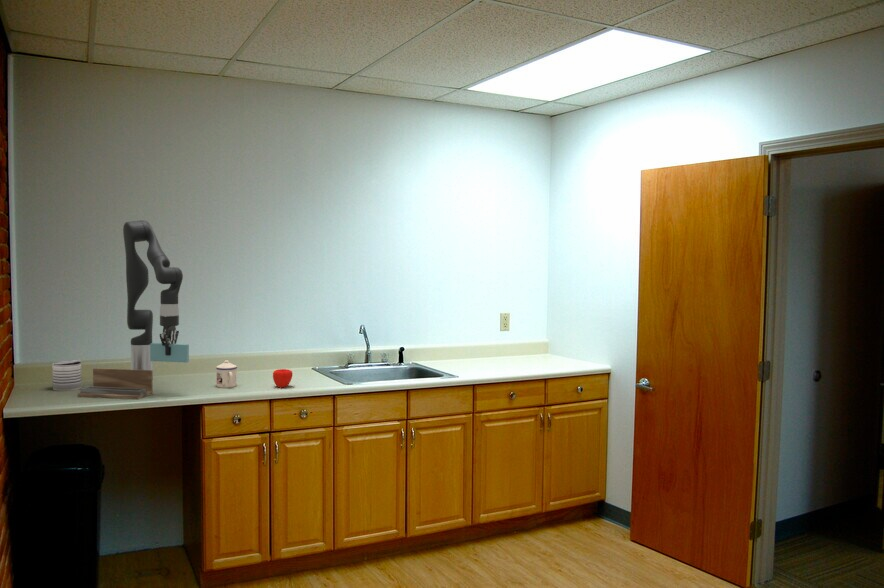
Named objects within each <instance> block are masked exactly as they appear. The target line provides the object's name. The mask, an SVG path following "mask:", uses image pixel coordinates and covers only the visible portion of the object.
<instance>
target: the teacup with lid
mask: <svg viewBox="0 0 884 588" xmlns="http://www.w3.org/2000/svg"><path fill="white" fill-rule="evenodd" d="M215 369H216V387H217V388H222V389H223V388H224V389H226V388H227V389H228V388H230V389H231V388H235V387H237V372H238V371H237V370H238V366H237V365H236V364H233V363H231V362H230V361H229V360H224V361H223V362H222V363H221V364H219V365H217V366H216V367H215Z"/></svg>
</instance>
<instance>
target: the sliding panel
mask: <svg viewBox="0 0 884 588" xmlns="http://www.w3.org/2000/svg"><path fill="white" fill-rule="evenodd" d="M150 361H153V362H162V363H163V362H166V363H189V362H190V344H189V343H176V344H171V355H170V356H166V355H165V346H162V342H161V343H160V342H152V343H151V344H150Z"/></svg>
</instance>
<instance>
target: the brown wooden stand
mask: <svg viewBox="0 0 884 588" xmlns="http://www.w3.org/2000/svg"><path fill="white" fill-rule="evenodd" d="M153 380H154V369H153V370H131V368H130V369H129V368H128V369H127V368H105V367H103V368H102V367H93V368H92V385H91V386H90V385H88V386H84V387H81V388H79V390H80V391H79V392H80V393H79V392H78V393H77V397H78V396H83V397H82V398H96V397H101V398H102V399H118V398H119V399H120V400H121V399H122V400H123V399H124V400H139V399H142V398H145V397H147V396H149V395H150V396H151V395H153V393H154V391H153V390H154V389H153V386H154V385H153Z"/></svg>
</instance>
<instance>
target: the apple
mask: <svg viewBox="0 0 884 588" xmlns="http://www.w3.org/2000/svg"><path fill="white" fill-rule="evenodd" d="M292 377H293V371H292V370H290V369H286V368H280V369H275V370H273V372H272V380H273V382H274V384H275V387H277V388H279V387H280V388H281V389H282V388H286V387H288V385H290V383H291V381H292V379H293V378H292ZM280 388H279V389H280Z"/></svg>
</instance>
